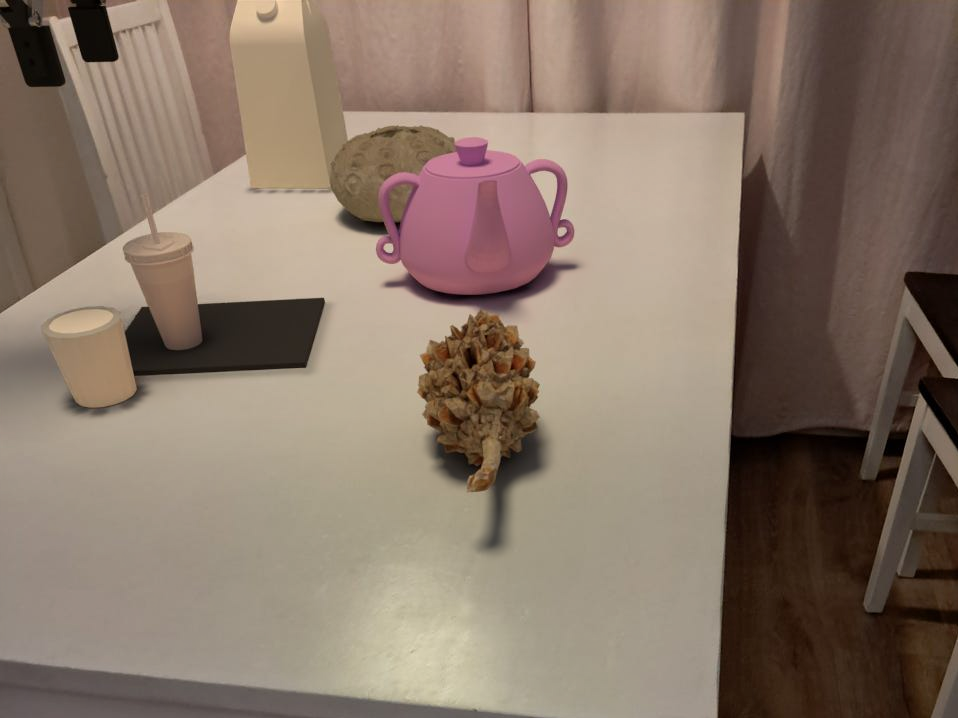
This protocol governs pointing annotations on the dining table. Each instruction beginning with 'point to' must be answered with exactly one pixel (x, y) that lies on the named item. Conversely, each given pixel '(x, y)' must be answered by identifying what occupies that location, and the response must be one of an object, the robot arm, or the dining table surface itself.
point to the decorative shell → (383, 167)
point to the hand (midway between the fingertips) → (75, 73)
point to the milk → (286, 92)
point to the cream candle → (92, 355)
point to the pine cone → (480, 393)
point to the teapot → (474, 221)
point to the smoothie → (167, 282)
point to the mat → (231, 338)
